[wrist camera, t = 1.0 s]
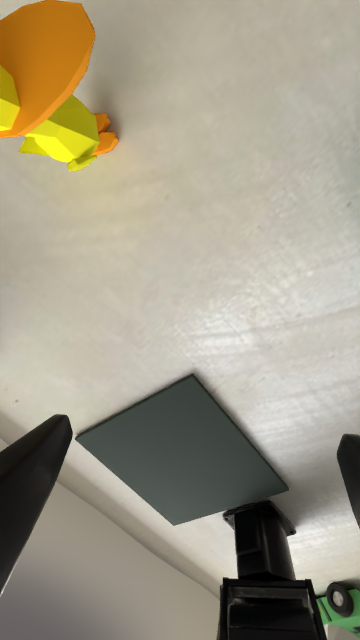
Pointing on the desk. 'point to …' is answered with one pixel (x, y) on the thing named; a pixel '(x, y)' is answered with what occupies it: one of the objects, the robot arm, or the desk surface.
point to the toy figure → (50, 83)
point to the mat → (183, 454)
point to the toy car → (340, 613)
